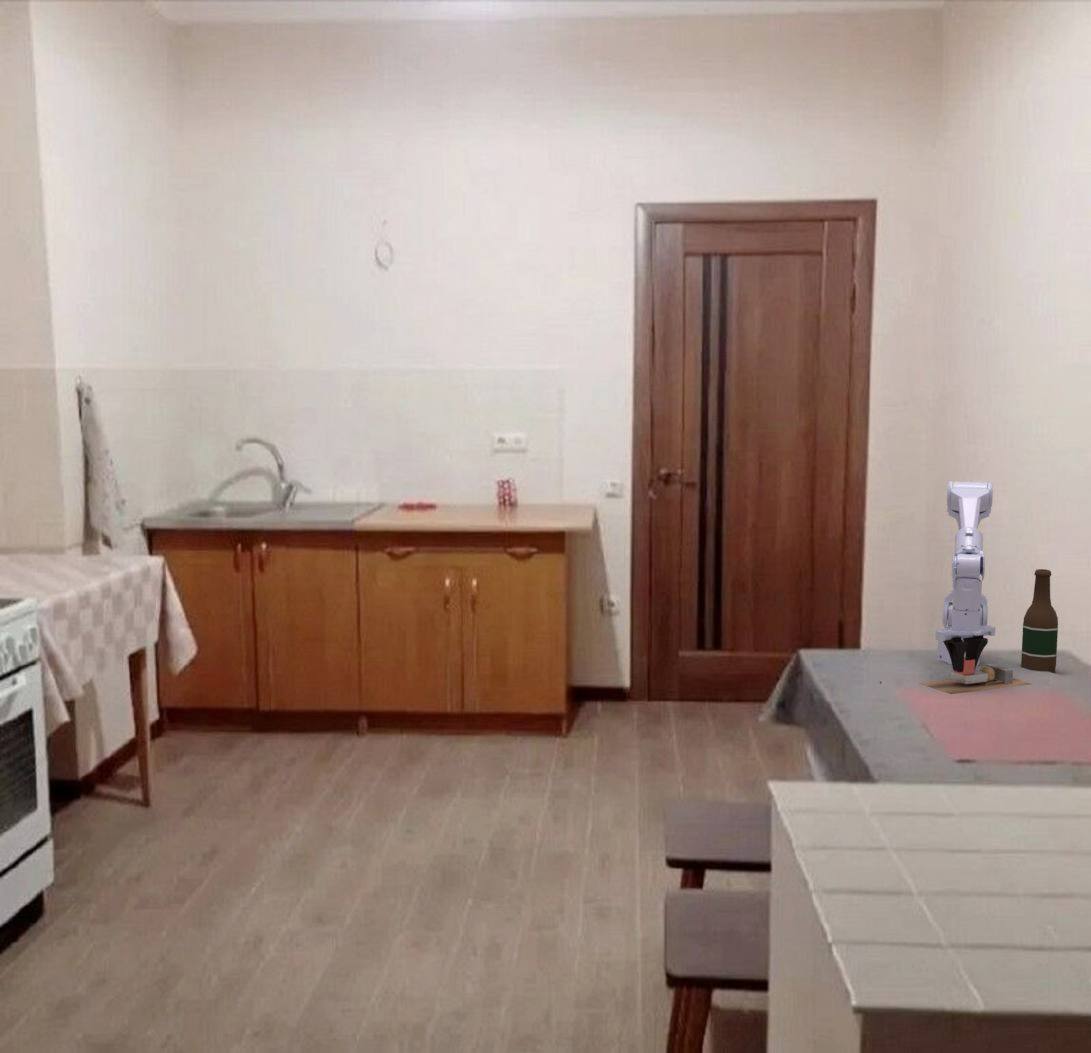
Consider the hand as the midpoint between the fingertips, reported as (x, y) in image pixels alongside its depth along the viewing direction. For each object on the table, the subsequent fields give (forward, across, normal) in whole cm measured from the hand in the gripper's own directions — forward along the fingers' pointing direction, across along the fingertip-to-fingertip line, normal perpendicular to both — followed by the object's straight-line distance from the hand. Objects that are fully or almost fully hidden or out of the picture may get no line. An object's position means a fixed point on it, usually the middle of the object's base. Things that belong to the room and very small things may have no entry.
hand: (964, 670), depth 240 cm
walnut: (+3, +6, 0) cm, 7 cm away
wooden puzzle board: (+4, +3, 0) cm, 5 cm away
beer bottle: (+5, +27, +6) cm, 28 cm away
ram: (+2, +1, 0) cm, 3 cm away
